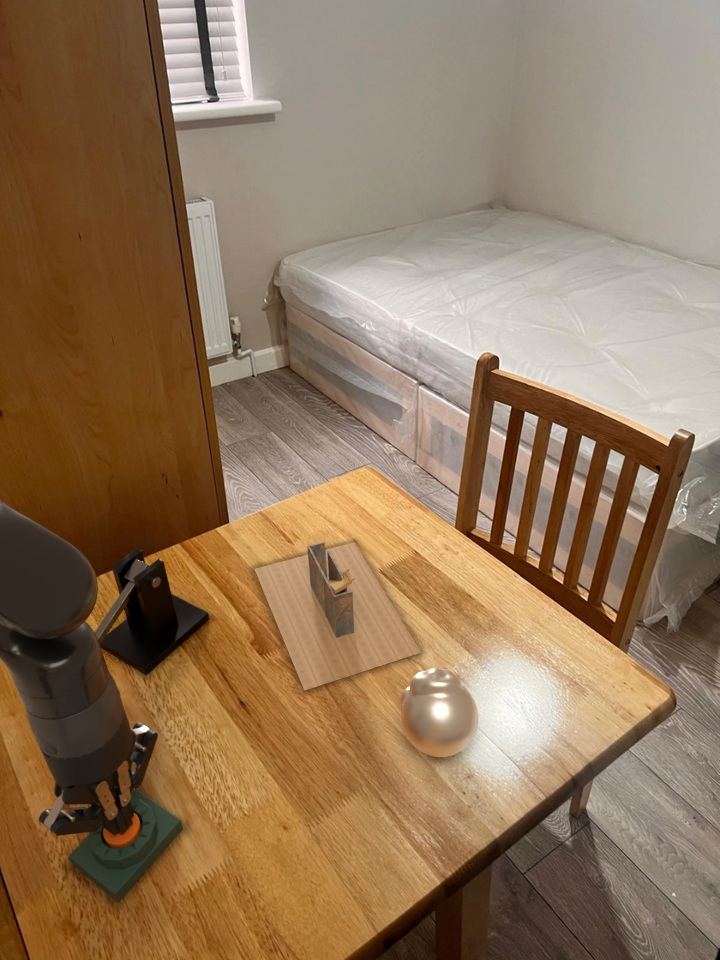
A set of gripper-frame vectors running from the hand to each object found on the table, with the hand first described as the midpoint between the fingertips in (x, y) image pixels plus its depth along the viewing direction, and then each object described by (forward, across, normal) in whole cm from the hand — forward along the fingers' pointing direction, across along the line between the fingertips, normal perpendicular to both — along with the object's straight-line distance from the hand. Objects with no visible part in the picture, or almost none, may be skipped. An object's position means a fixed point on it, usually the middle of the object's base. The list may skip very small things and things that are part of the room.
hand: (120, 825), depth 75 cm
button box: (+4, 0, 0) cm, 4 cm away
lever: (-3, -18, -20) cm, 27 cm away
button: (+2, 0, 0) cm, 2 cm away
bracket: (+4, -23, -20) cm, 31 cm away
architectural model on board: (+4, -40, -2) cm, 40 cm away
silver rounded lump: (+4, -29, +21) cm, 36 cm away
